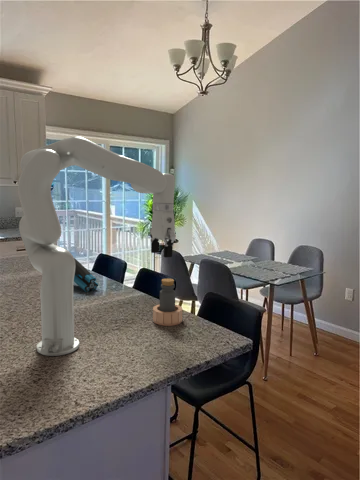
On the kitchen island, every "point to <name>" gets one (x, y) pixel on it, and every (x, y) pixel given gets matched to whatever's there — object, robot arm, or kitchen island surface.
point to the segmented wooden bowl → (167, 316)
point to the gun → (84, 277)
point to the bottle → (167, 296)
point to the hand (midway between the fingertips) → (161, 254)
